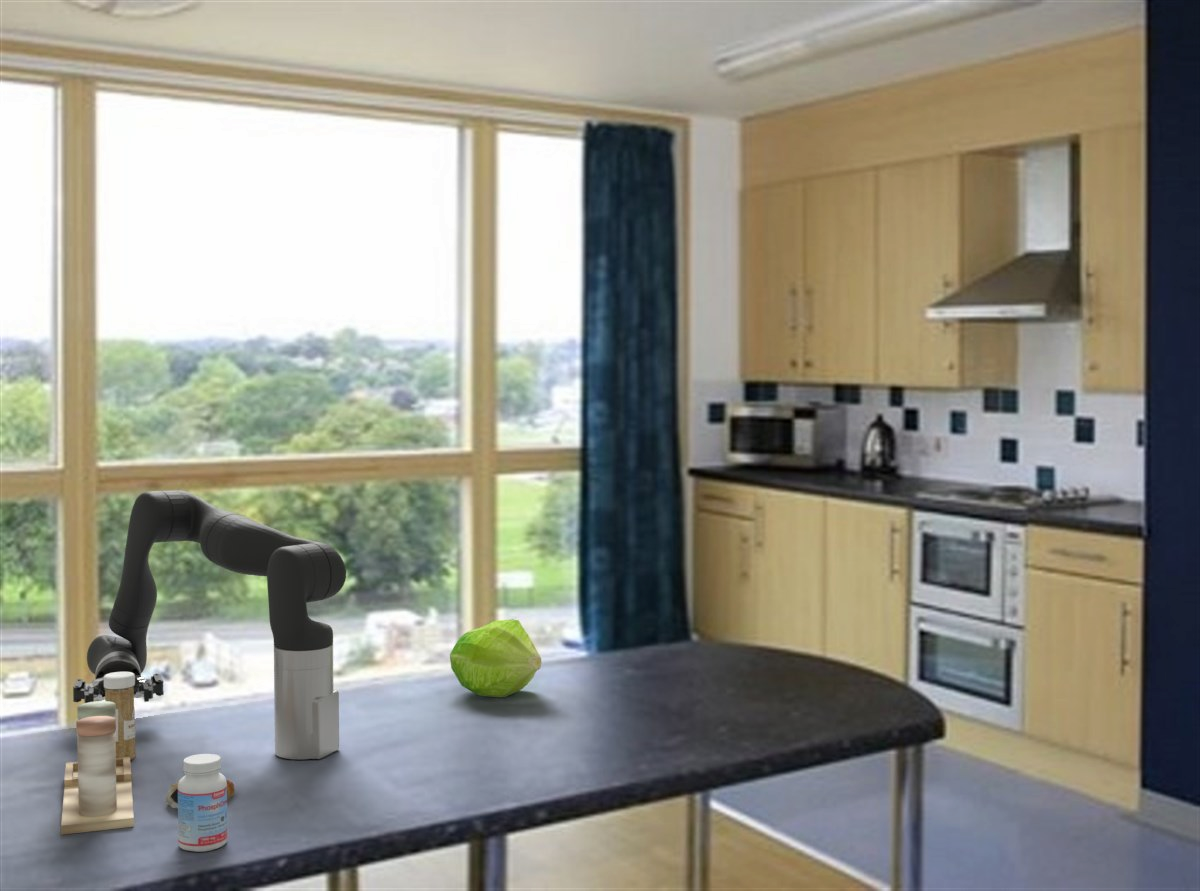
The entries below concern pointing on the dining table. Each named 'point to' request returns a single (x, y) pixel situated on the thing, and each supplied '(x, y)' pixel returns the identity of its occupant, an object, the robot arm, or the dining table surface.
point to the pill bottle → (202, 804)
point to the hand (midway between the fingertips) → (119, 697)
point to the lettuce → (495, 659)
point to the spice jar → (122, 710)
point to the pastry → (173, 794)
